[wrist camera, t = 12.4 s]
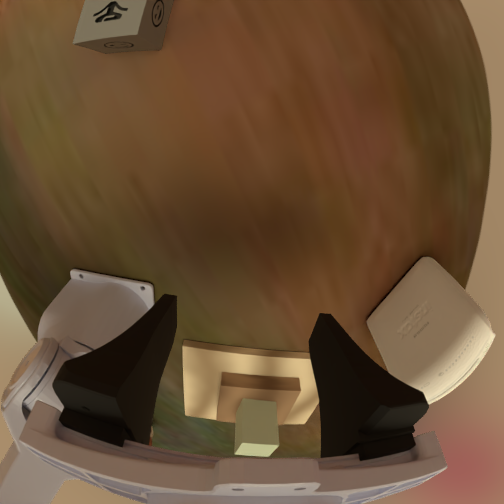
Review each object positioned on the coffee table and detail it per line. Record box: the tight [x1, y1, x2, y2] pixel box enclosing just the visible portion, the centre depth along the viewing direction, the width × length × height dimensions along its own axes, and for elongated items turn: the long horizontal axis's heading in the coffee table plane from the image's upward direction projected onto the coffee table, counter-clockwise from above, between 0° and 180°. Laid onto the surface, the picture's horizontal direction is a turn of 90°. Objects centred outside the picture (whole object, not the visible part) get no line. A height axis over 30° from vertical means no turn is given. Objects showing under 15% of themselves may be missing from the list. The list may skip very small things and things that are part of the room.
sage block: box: [235, 398, 279, 457], centre depth 27 cm, size 4×4×6 cm
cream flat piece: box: [183, 339, 319, 425], centre depth 31 cm, size 18×16×3 cm
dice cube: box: [73, 0, 174, 54], centre depth 12 cm, size 5×5×5 cm
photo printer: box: [367, 257, 495, 404], centre depth 20 cm, size 10×4×12 cm, turn 148°
